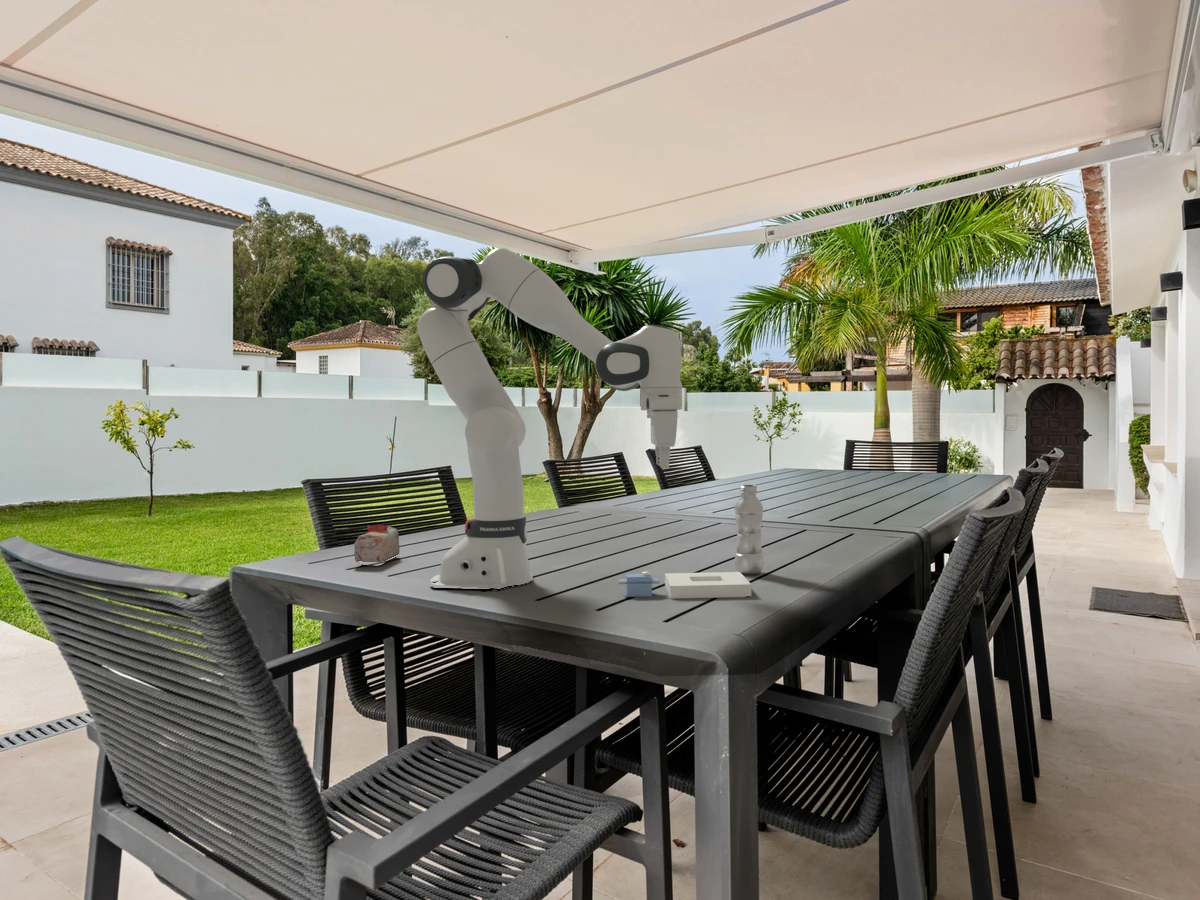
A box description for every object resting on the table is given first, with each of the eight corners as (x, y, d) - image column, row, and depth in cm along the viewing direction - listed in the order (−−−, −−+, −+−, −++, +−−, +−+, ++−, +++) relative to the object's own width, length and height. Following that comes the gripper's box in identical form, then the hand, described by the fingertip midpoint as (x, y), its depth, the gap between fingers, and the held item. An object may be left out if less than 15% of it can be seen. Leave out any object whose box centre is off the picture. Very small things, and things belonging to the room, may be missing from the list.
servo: (619, 597, 152) (619, 574, 152) (619, 593, 155) (618, 571, 155) (659, 596, 152) (659, 573, 152) (658, 592, 155) (657, 570, 155)
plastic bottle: (729, 574, 171) (727, 486, 170) (745, 569, 176) (744, 483, 175) (753, 577, 167) (752, 487, 166) (769, 572, 172) (768, 485, 171)
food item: (383, 568, 187) (382, 528, 187) (352, 568, 188) (350, 528, 187) (402, 557, 201) (401, 520, 200) (373, 557, 201) (372, 521, 201)
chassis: (670, 598, 149) (670, 586, 149) (665, 585, 161) (664, 573, 161) (751, 596, 149) (751, 584, 149) (740, 583, 161) (739, 571, 161)
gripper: (643, 403, 171) (644, 464, 172) (649, 401, 151) (651, 470, 151) (671, 402, 171) (672, 463, 172) (681, 400, 151) (682, 469, 151)
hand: (662, 466), depth 161 cm, fingers open, 8 cm apart
